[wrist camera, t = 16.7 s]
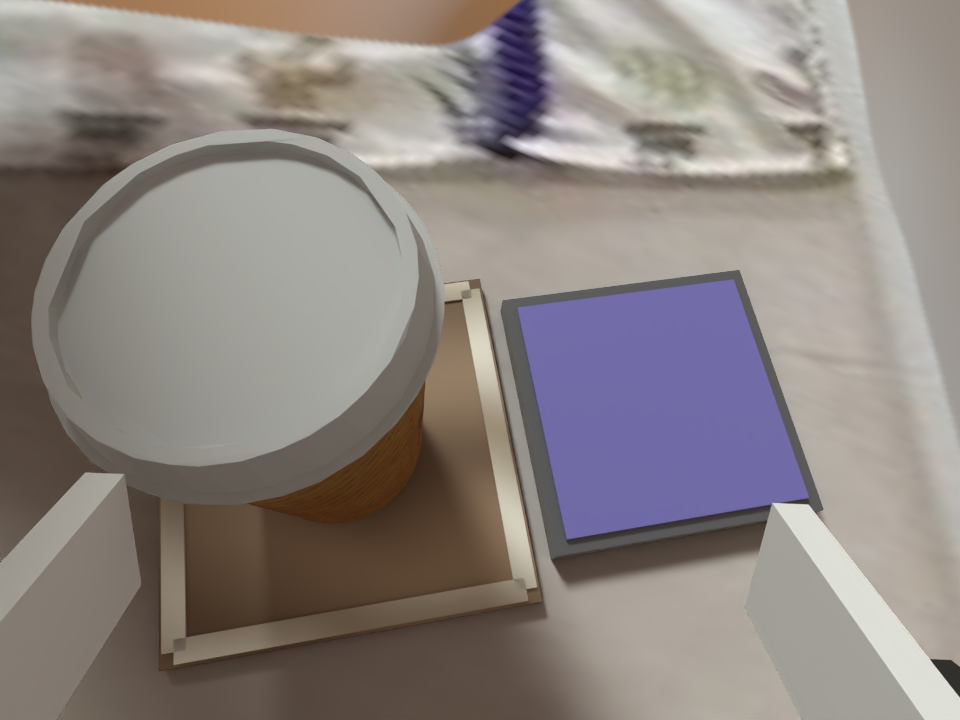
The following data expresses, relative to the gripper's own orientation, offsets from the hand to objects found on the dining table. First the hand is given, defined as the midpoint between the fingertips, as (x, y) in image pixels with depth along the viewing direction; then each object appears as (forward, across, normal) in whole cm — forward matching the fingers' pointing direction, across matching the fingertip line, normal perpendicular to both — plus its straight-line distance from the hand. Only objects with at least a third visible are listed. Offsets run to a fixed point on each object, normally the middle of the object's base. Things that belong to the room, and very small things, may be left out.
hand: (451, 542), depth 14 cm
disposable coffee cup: (+12, -4, -4) cm, 13 cm away
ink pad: (+14, +8, -3) cm, 16 cm away
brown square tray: (+12, -4, -5) cm, 14 cm away
